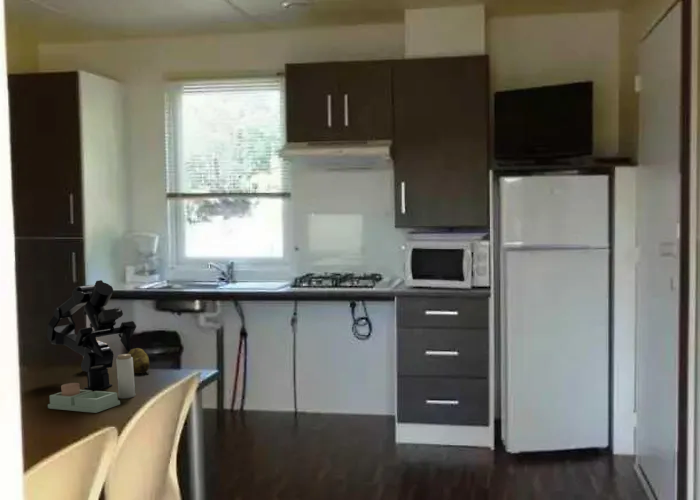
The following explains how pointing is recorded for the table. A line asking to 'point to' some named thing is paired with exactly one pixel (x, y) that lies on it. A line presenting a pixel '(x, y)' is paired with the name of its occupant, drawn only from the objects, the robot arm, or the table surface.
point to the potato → (139, 360)
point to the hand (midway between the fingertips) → (116, 353)
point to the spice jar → (125, 376)
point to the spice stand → (82, 399)
